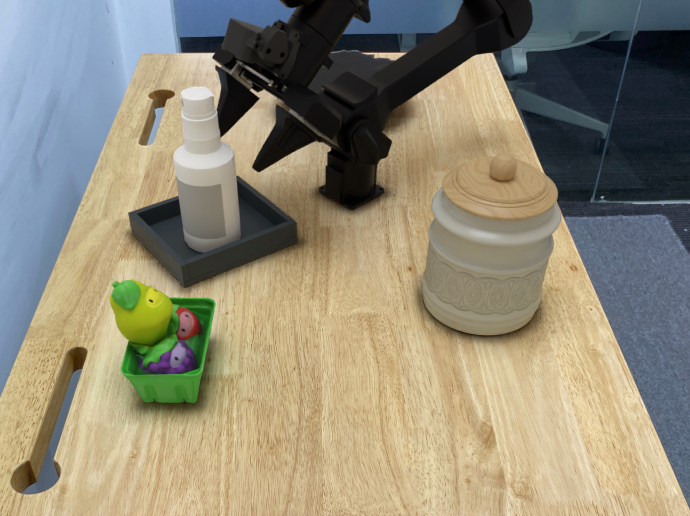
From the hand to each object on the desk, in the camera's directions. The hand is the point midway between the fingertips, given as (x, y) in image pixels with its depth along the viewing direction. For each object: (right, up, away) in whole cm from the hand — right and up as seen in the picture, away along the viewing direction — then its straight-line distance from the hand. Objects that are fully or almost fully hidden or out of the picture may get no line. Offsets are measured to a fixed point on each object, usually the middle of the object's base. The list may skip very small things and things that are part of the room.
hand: (233, 153), depth 88 cm
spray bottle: (-3, -9, +6) cm, 11 cm away
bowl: (+13, +18, +31) cm, 38 cm away
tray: (-3, -8, +7) cm, 11 cm away
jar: (+28, -17, -2) cm, 32 cm away
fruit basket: (-5, -25, -10) cm, 28 cm away
